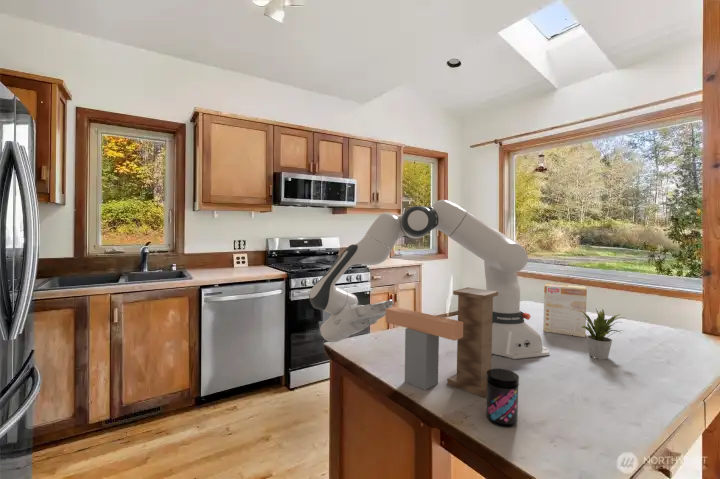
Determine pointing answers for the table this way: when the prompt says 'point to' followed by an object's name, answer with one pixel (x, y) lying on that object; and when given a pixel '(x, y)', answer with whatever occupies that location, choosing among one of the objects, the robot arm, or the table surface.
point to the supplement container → (502, 397)
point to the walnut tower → (474, 340)
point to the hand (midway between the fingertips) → (381, 304)
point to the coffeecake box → (565, 309)
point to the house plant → (600, 335)
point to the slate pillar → (421, 358)
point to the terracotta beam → (425, 323)
